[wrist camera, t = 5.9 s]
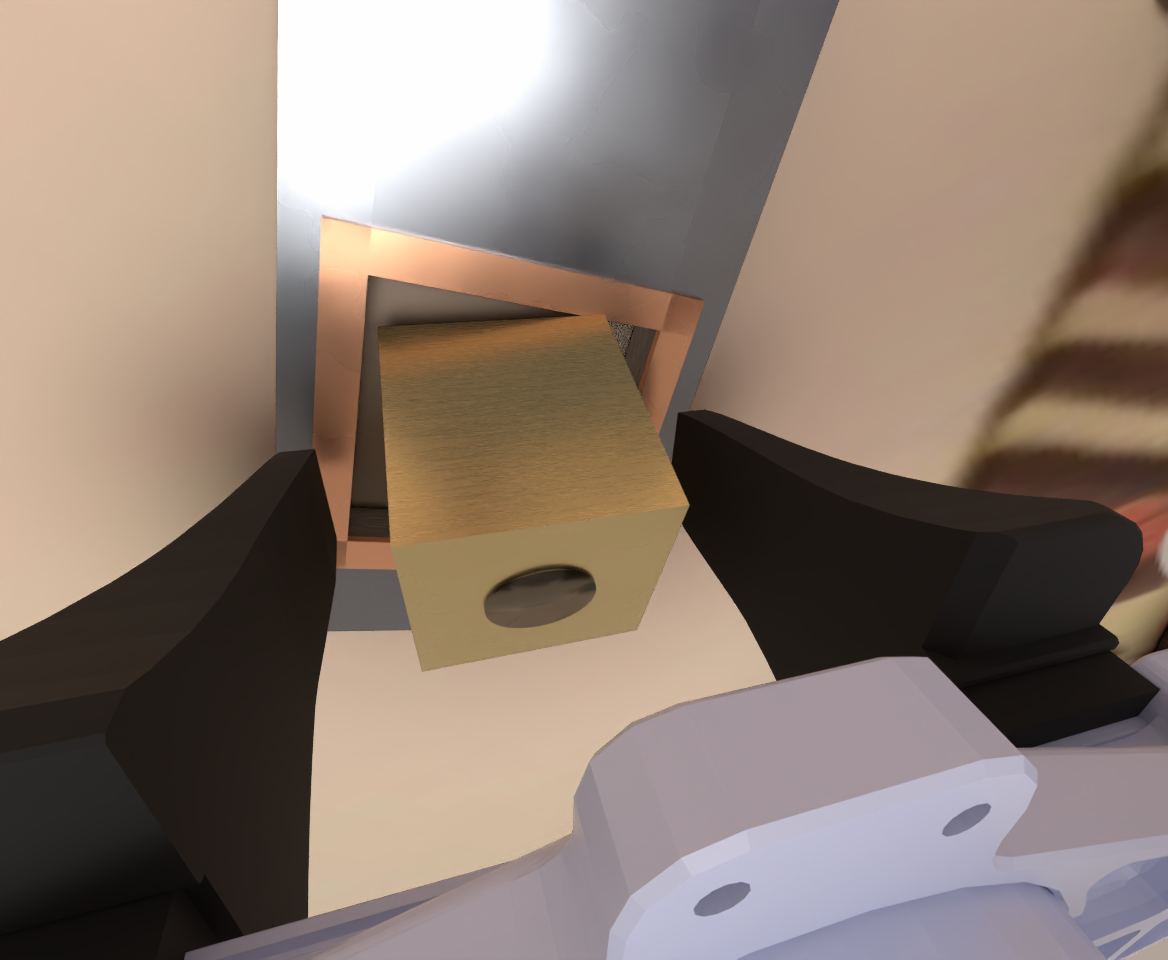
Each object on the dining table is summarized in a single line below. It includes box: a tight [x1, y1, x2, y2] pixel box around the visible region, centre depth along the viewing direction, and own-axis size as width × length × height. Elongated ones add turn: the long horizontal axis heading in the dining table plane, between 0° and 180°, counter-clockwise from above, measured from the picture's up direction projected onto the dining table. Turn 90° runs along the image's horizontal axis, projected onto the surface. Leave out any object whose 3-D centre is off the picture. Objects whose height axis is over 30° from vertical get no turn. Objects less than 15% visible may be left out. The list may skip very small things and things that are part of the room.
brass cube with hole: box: [378, 315, 690, 671], centre depth 12 cm, size 4×4×5 cm
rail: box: [276, 0, 839, 631], centre depth 10 cm, size 9×26×1 cm, turn 165°
